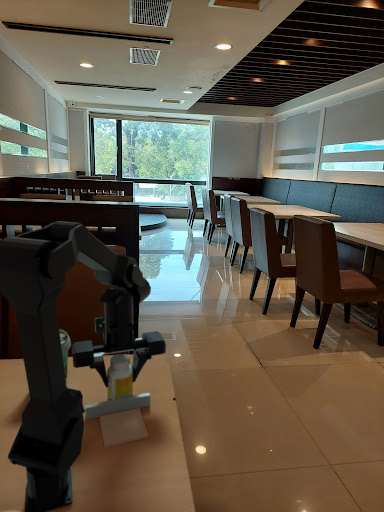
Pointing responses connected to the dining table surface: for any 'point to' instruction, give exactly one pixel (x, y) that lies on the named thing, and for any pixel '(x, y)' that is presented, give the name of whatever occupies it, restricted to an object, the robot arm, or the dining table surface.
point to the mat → (122, 427)
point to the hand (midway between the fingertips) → (120, 383)
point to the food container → (64, 348)
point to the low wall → (117, 405)
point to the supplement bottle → (120, 377)
